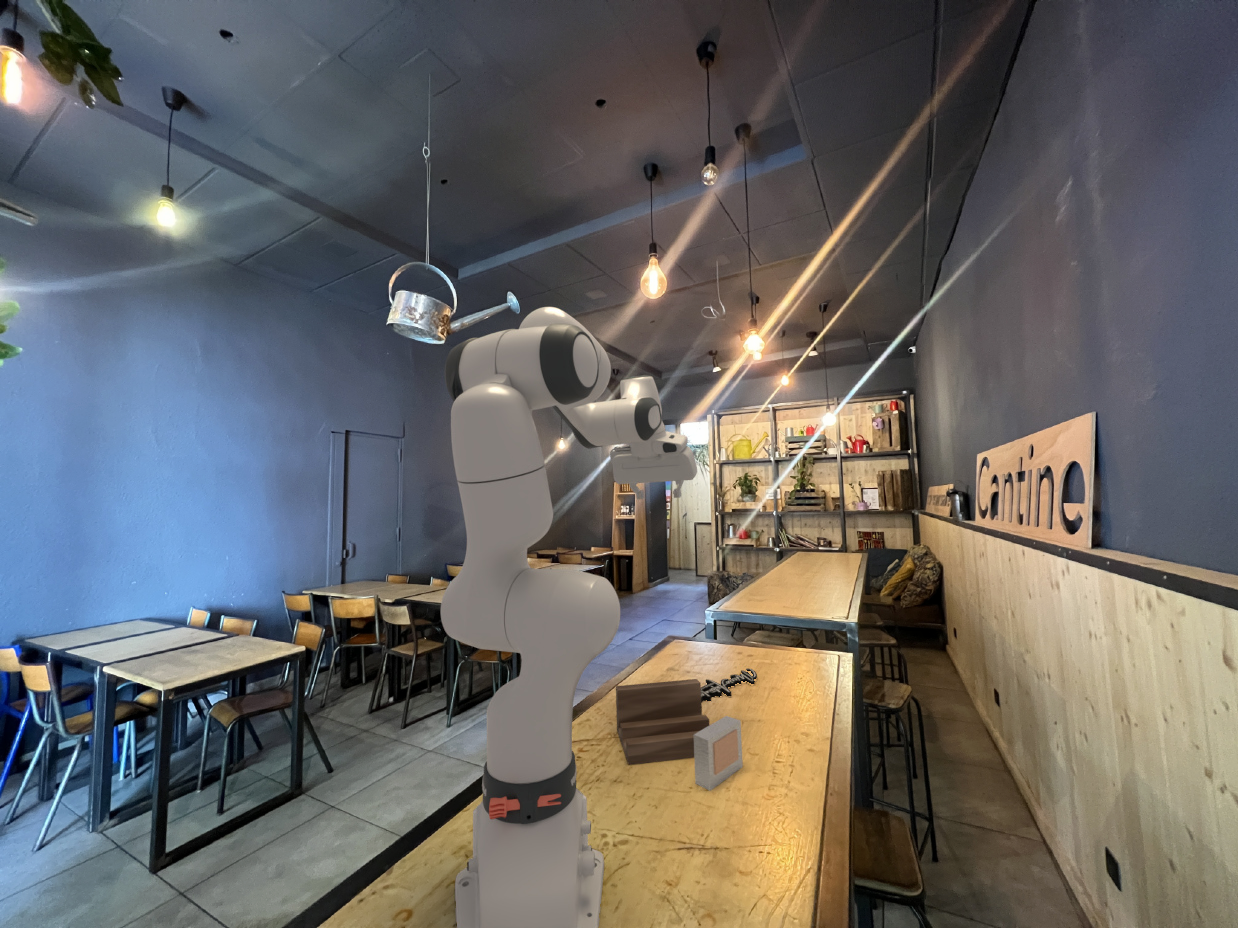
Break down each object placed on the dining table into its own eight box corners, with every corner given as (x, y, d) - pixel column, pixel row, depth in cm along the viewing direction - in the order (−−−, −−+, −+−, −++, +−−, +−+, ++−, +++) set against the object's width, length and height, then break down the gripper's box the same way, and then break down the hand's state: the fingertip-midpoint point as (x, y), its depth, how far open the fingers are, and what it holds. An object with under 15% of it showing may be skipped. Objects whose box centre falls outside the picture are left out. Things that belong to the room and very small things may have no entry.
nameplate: (736, 665, 137) (769, 673, 130) (737, 670, 137) (769, 679, 129) (676, 693, 117) (710, 704, 110) (676, 699, 117) (710, 711, 110)
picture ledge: (722, 753, 90) (720, 704, 91) (628, 764, 88) (627, 713, 88) (698, 721, 104) (696, 678, 105) (616, 730, 101) (615, 685, 102)
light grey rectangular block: (743, 767, 86) (741, 720, 86) (711, 791, 79) (708, 740, 80) (728, 760, 88) (726, 715, 89) (695, 783, 81) (693, 734, 82)
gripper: (603, 451, 113) (615, 504, 117) (687, 444, 105) (697, 501, 109) (613, 443, 119) (623, 494, 123) (693, 435, 111) (702, 490, 115)
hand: (659, 497), depth 116 cm, fingers open, 8 cm apart
